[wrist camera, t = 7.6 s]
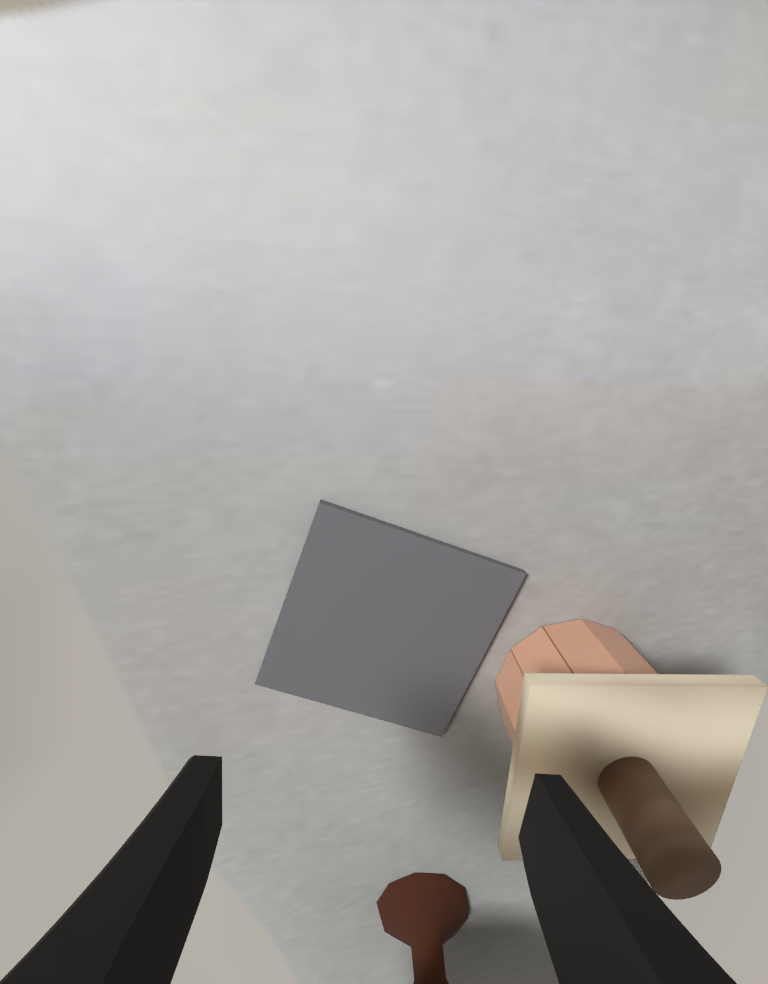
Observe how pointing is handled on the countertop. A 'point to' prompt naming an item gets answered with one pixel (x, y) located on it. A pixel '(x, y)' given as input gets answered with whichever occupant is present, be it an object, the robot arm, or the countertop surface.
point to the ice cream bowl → (424, 919)
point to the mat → (385, 620)
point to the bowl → (564, 660)
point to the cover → (638, 762)
